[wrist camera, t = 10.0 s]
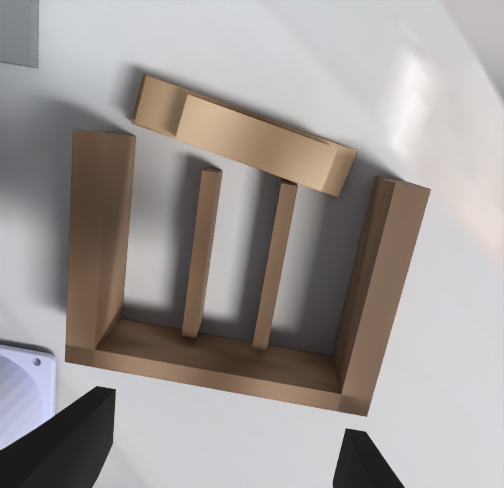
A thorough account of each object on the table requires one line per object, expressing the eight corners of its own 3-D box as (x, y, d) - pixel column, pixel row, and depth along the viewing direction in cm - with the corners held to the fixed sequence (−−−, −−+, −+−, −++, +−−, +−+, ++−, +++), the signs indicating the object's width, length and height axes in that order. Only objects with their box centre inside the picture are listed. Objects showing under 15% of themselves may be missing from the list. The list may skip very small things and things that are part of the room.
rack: (96, 329, 23) (64, 361, 20) (107, 131, 20) (72, 129, 17) (353, 375, 23) (366, 416, 19) (404, 181, 20) (431, 189, 16)
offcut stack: (138, 124, 20) (114, 121, 17) (150, 77, 20) (128, 66, 17) (335, 194, 21) (344, 203, 18) (353, 150, 20) (365, 152, 17)
